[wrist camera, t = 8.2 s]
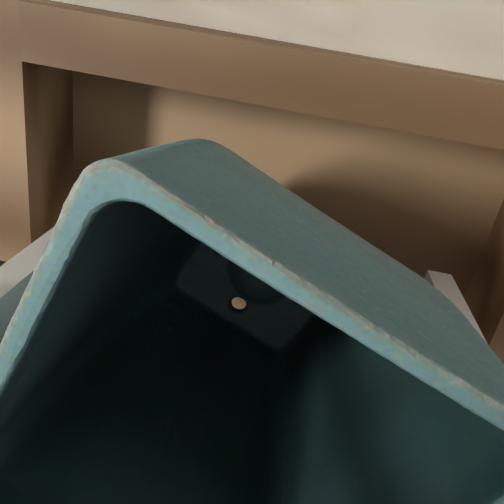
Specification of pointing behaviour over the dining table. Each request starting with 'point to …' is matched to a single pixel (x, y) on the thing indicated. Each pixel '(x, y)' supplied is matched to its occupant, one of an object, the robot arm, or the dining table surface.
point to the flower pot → (236, 353)
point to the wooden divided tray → (260, 132)
